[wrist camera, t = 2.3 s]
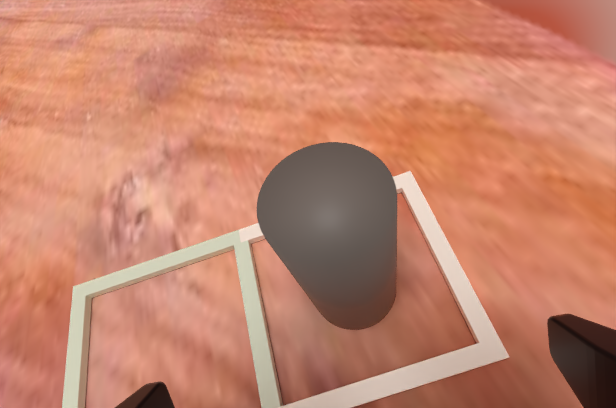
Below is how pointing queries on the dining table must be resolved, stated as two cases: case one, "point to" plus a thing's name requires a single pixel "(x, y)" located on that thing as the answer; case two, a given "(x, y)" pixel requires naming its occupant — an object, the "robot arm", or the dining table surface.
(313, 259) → the grey cylinder
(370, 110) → the dining table surface
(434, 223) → the frame
